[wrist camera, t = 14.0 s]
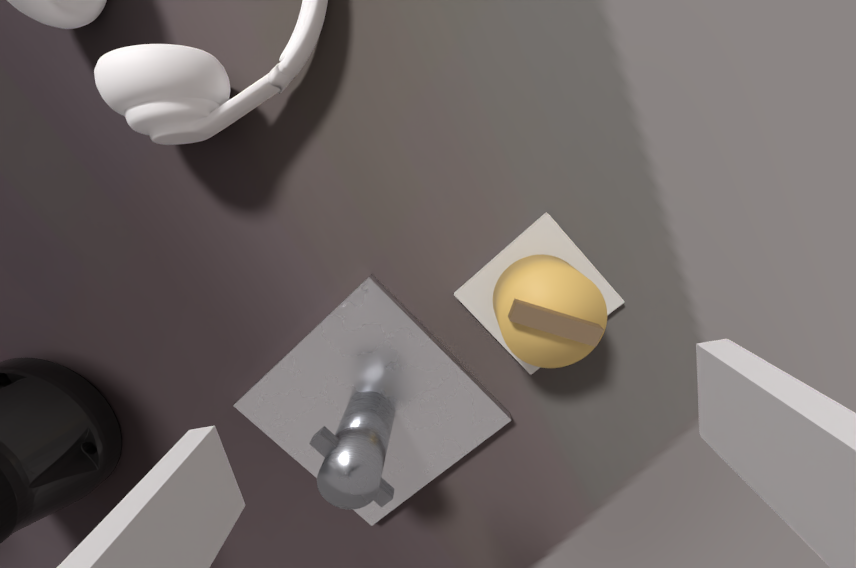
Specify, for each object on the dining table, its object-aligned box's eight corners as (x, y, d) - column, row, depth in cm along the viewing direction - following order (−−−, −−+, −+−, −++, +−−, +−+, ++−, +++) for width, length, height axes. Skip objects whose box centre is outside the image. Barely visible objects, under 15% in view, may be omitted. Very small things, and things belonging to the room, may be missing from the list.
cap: (480, 326, 35) (486, 357, 30) (510, 242, 33) (524, 258, 28) (564, 351, 36) (586, 387, 30) (599, 270, 34) (631, 291, 28)
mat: (529, 371, 37) (530, 375, 36) (453, 292, 35) (454, 295, 35) (621, 299, 35) (624, 301, 34) (545, 212, 33) (547, 213, 33)
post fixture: (373, 516, 42) (351, 618, 32) (239, 398, 39) (171, 473, 30) (509, 412, 38) (530, 494, 29) (371, 273, 35) (342, 312, 26)
